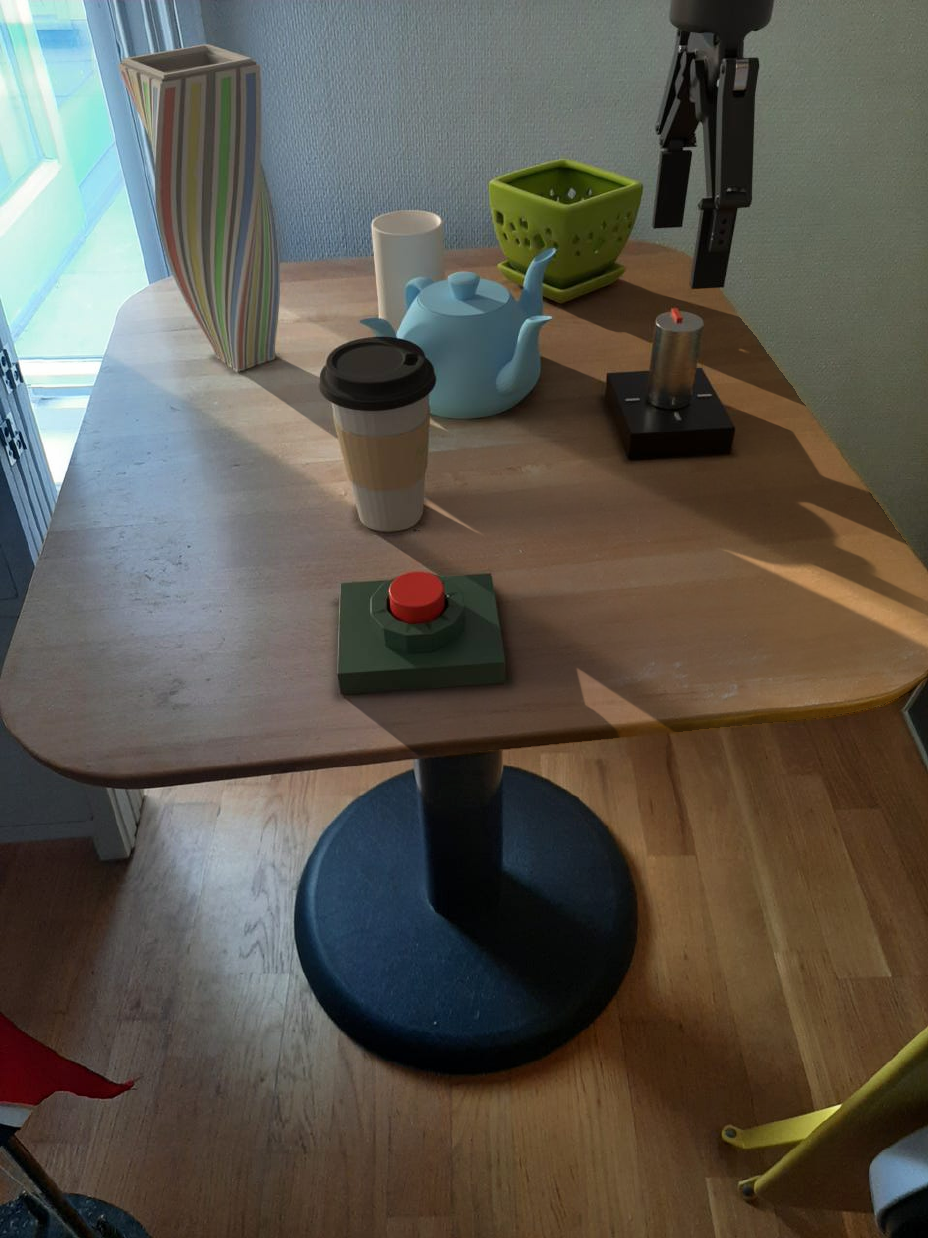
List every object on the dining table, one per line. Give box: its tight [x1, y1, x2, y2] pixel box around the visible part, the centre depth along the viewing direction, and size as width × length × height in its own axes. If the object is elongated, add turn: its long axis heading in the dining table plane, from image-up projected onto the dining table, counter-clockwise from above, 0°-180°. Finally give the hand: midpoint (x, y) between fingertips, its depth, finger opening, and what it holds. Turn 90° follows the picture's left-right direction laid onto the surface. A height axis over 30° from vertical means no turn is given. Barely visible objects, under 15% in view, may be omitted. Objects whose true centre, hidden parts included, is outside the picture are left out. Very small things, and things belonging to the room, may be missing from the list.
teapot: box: [359, 248, 556, 420], centre depth 95 cm, size 17×19×12 cm
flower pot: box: [488, 158, 644, 304], centre depth 115 cm, size 14×14×13 cm
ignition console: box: [336, 572, 506, 696], centre depth 69 cm, size 10×12×4 cm
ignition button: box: [389, 571, 445, 624], centre depth 68 cm, size 4×4×2 cm
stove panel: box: [604, 367, 737, 461], centre depth 92 cm, size 12×10×3 cm
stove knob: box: [646, 307, 705, 409], centre depth 88 cm, size 4×4×8 cm
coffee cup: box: [318, 336, 436, 533], centre depth 78 cm, size 9×9×15 cm
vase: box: [116, 43, 281, 373], centre depth 96 cm, size 14×14×30 cm
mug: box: [371, 209, 446, 334], centre depth 109 cm, size 12×8×12 cm
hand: (685, 255), depth 82 cm, fingers open, 13 cm apart
